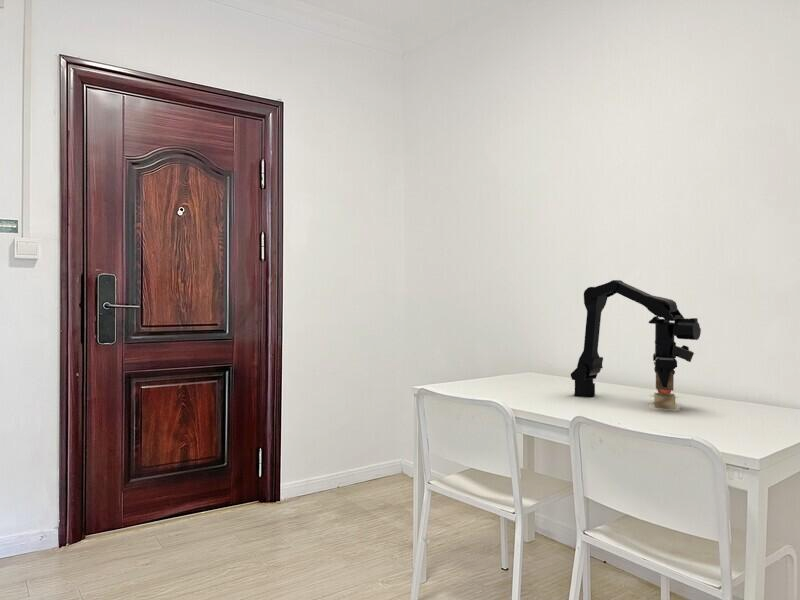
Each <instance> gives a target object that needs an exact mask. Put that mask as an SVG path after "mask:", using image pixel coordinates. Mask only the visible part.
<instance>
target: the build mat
mask: <svg viewBox="0 0 800 600" xmlns="http://www.w3.org/2000/svg"><path fill="white" fill-rule="evenodd" d="M648 405H649V409H650V410H662V411H663V410H665V411H678V412H679V411H682V410H681V407H680V405H678V404H675V409H662V408H655V406H654V403H649V404H648Z"/></svg>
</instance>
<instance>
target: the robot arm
mask: <svg viewBox="0 0 800 600" xmlns="http://www.w3.org/2000/svg"><path fill="white" fill-rule="evenodd" d="M616 294H618V295H620V296H623V297H625V298H627V299H629V300H631V301H633V302H635V303H638V304H640V305H642V306H643V307H645V308H646V309H647V310H648V311H649V312H650V313H652V314H653V315H654V316H653V317H652V318H651V319H650V320H649V321H648V324H653V325H654V326H655V327H654V329H655V331H654V335H655V336H654V337H655V338H654V353H653V355H652V361H653V365H654V368H655V367H656V370H657V373H658V375H659V378H660V380H661V383H662V386H663V387H667V384H668V380H669V376H670V372H671V371H672V370H673V369H674V370H675V369H676V368H677V367H678V361H677V357H678V358H679V359H682V360H684V361H686V362H689V363H691V362H692V359H693V357H694V355H695V352H693V351H691V350H690V348H689V346H687V345H685V344H684V345H681V346H678V345H676V344H677V343H676V341H675V338H677V339H678V340H692V341H693V340H694V341H698V340H699V339H700V337H701V332H702V328H701V326H700V323H699V320H698V318H697V317H696V318H695V317H694V318H693V317H691V318H687V317H686V318H685V317H684V316H683V314H682V313H681V312H680V310H679V308H678V305H677V302H676V301H675V300H673V299H671V298H670V299H669V298H666V297H662V296H657V295H652V294H650V293H648V292H646V291H644V290H641V289H639V288H637V287H635V286H632V285H631V284H628V283H626V282H625V281H624V282H623V281H622V280H620V279H612V280H611V281H609V282H606V283H603V284H601V285H597V286H589V287H587V288H586V289H584V291H583V303H584V307H585V309H586V319H585V331H584V344H583V350H582V352H581V355H580V356H579V359H578V361H577V366H576V368H575V369H574V370H573V371H572V372H571V373H570V377H571V380H573V381H574V395H573V397H575V398H576V397H577V398H594V397H595V395H596V383H594V380H595V379H597V378H598V377H597V376H598V374H599V373H601V370H602V369H603V368H604V367H603V361H604V357H603V356H600V355H599V351H598V350H599V342H600V341H599V340H600V330H601V329H600V328H601V320H602V317H601V316H602V312H603V310H604V309H605V306H606V304H607V301H608V298H610V297H612V296H614V295H616Z"/></svg>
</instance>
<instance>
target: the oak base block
mask: <svg viewBox="0 0 800 600" xmlns="http://www.w3.org/2000/svg"><path fill="white" fill-rule="evenodd" d="M653 397H654V398H653V404H654V406H655V408H662V409H675V405H676V395H675V393H671V394H670V393H658V392H654V393H653ZM662 409H661V410H662Z"/></svg>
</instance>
